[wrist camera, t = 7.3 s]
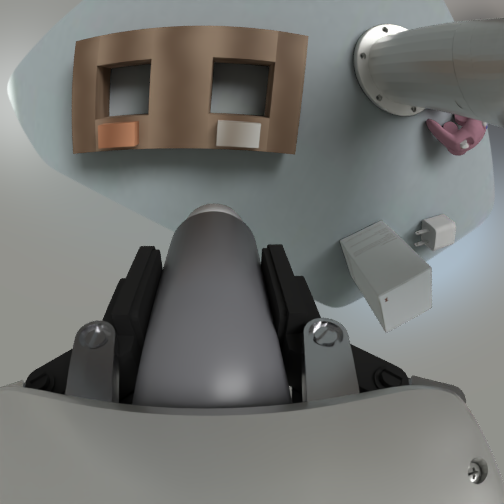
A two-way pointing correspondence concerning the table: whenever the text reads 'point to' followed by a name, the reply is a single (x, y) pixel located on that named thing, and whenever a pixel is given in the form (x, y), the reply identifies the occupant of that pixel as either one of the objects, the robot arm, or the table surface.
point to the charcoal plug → (212, 322)
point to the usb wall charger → (437, 232)
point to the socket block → (187, 89)
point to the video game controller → (458, 133)
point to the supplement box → (388, 274)
